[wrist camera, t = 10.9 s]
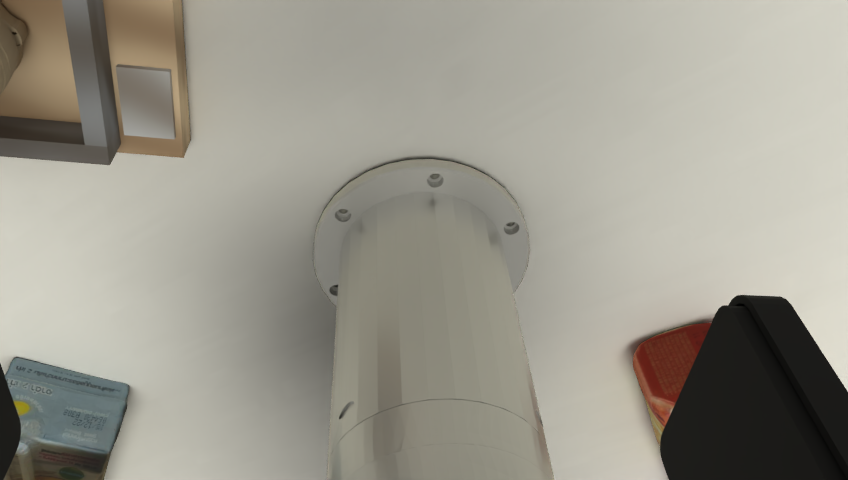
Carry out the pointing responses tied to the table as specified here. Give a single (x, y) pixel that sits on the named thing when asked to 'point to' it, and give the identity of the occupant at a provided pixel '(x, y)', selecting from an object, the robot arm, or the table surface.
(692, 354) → the snack package
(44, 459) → the beverage carton
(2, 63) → the handle
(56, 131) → the wooden tray
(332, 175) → the table surface
